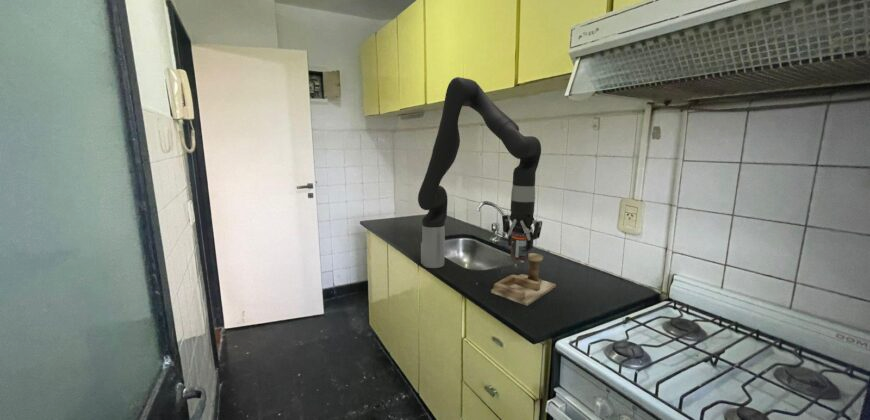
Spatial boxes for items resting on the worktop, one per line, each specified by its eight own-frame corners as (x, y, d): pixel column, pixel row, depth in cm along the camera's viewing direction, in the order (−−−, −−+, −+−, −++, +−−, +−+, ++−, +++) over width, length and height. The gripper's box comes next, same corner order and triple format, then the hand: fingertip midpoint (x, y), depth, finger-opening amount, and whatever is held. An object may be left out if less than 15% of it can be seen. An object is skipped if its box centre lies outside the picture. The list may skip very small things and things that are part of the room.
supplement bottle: (509, 254, 122) (510, 223, 120) (526, 255, 122) (528, 223, 119) (511, 261, 116) (513, 227, 114) (529, 261, 116) (532, 228, 114)
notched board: (490, 292, 122) (491, 283, 122) (521, 276, 136) (521, 267, 136) (526, 306, 113) (527, 295, 112) (555, 286, 127) (556, 277, 126)
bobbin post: (521, 282, 128) (522, 256, 126) (529, 277, 133) (531, 252, 131) (536, 287, 124) (537, 260, 122) (544, 282, 129) (546, 255, 126)
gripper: (497, 197, 117) (495, 245, 121) (537, 203, 107) (533, 256, 111) (510, 194, 122) (507, 241, 126) (549, 200, 112) (545, 250, 116)
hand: (520, 247), depth 118 cm, fingers closed on supplement bottle, 6 cm apart
